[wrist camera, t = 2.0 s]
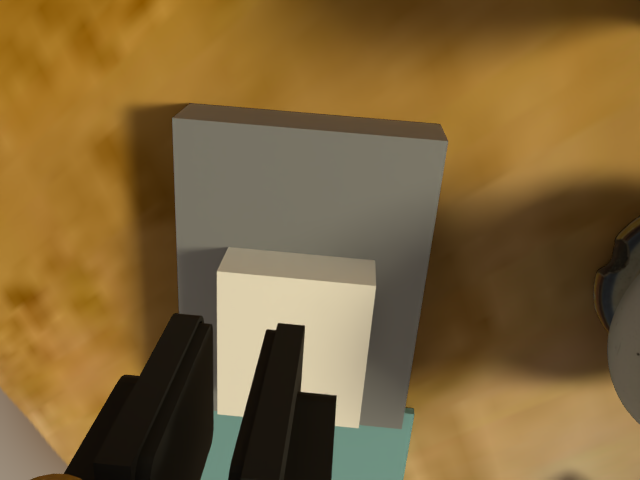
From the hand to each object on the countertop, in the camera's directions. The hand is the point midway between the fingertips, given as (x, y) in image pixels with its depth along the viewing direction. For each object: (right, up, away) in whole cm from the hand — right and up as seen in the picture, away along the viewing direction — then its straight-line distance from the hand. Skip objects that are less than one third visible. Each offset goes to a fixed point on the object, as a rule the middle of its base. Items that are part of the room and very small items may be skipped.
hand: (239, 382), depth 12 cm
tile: (0, -1, +18) cm, 18 cm away
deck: (+1, +2, +20) cm, 20 cm away
